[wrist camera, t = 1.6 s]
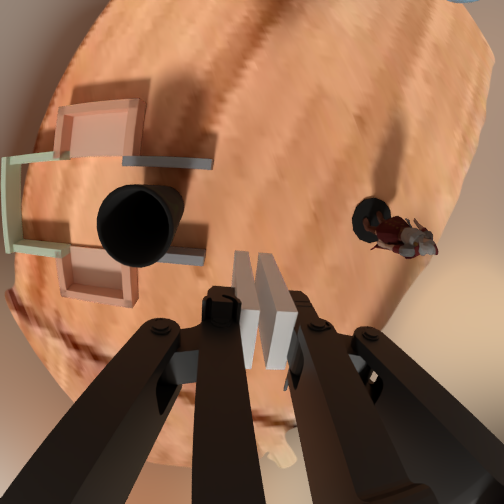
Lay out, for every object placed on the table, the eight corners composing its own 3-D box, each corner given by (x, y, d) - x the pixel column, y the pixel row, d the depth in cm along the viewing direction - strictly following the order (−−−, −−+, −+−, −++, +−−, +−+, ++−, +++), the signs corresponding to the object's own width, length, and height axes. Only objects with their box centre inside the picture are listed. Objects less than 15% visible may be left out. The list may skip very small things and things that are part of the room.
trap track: (220, 104, 31) (218, 97, 27) (202, 305, 39) (200, 320, 35) (21, 119, 27) (6, 117, 23) (24, 279, 35) (12, 288, 32)
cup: (128, 219, 34) (86, 244, 23) (151, 167, 32) (113, 170, 21) (176, 245, 36) (154, 281, 24) (202, 194, 34) (188, 208, 23)
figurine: (382, 190, 35) (453, 208, 21) (396, 233, 38) (461, 268, 23) (345, 209, 36) (406, 238, 22) (361, 253, 38) (419, 299, 24)
